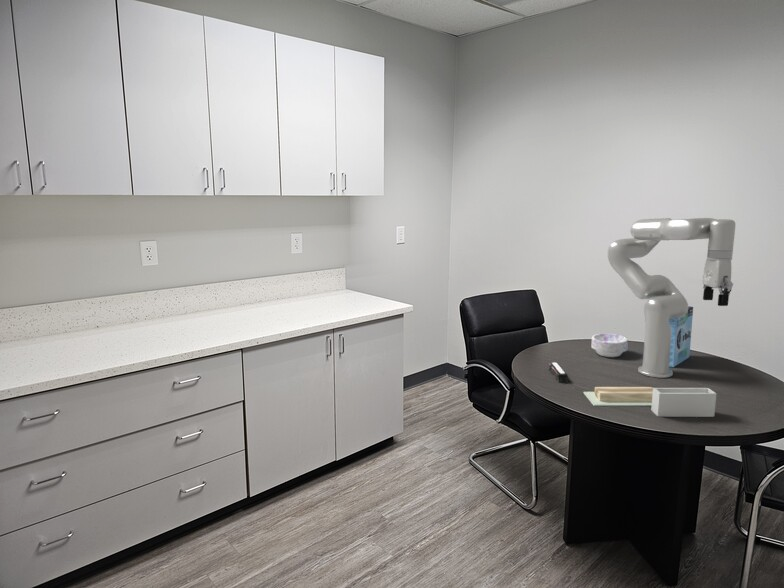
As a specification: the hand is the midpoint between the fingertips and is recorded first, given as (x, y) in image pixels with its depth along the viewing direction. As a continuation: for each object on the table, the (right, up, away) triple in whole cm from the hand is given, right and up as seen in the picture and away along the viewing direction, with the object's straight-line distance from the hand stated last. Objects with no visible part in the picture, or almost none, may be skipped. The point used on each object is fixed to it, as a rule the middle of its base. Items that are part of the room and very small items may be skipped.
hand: (715, 302), depth 188 cm
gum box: (+8, -26, +40) cm, 49 cm away
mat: (-32, -35, 0) cm, 47 cm away
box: (-18, -37, -12) cm, 43 cm away
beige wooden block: (-32, -34, 0) cm, 46 cm away
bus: (-47, -31, +27) cm, 62 cm away
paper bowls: (-17, -25, +52) cm, 60 cm away
